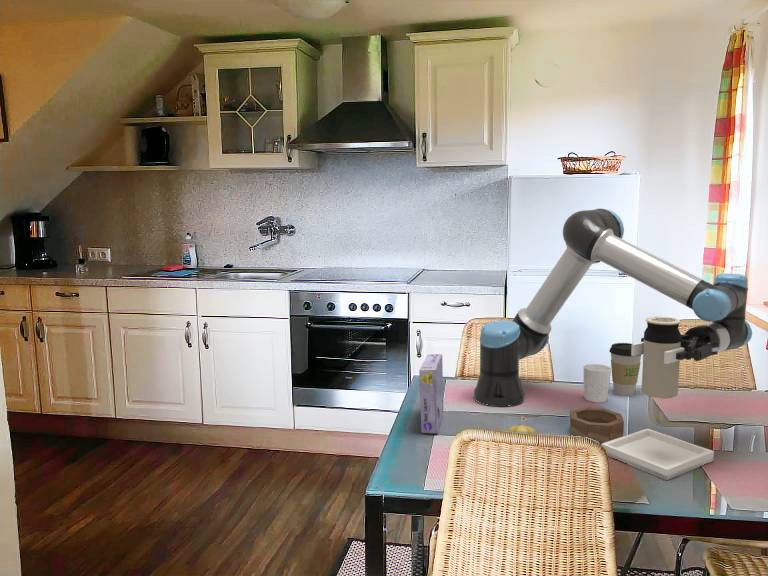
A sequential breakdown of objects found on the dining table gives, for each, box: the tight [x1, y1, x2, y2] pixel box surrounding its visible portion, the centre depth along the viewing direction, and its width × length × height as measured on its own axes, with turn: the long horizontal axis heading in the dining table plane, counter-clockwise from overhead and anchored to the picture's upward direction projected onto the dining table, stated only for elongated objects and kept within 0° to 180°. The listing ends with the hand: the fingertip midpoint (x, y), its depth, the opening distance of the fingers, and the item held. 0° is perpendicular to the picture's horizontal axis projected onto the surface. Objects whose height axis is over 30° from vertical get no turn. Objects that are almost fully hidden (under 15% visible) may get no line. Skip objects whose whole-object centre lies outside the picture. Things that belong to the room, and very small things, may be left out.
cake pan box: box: [418, 353, 445, 435], centre depth 185 cm, size 19×5×18 cm, turn 169°
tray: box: [600, 427, 715, 481], centre depth 161 cm, size 18×18×2 cm
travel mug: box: [641, 316, 682, 400], centre depth 157 cm, size 8×8×18 cm
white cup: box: [583, 363, 612, 403], centre depth 203 cm, size 8×8×10 cm
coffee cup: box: [609, 342, 643, 397], centre depth 209 cm, size 10×10×15 cm
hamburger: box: [506, 415, 538, 434], centre depth 155 cm, size 8×7×12 cm
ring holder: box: [569, 407, 625, 443], centre depth 176 cm, size 13×13×5 cm
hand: (648, 353), depth 155 cm, fingers closed on travel mug, 8 cm apart
